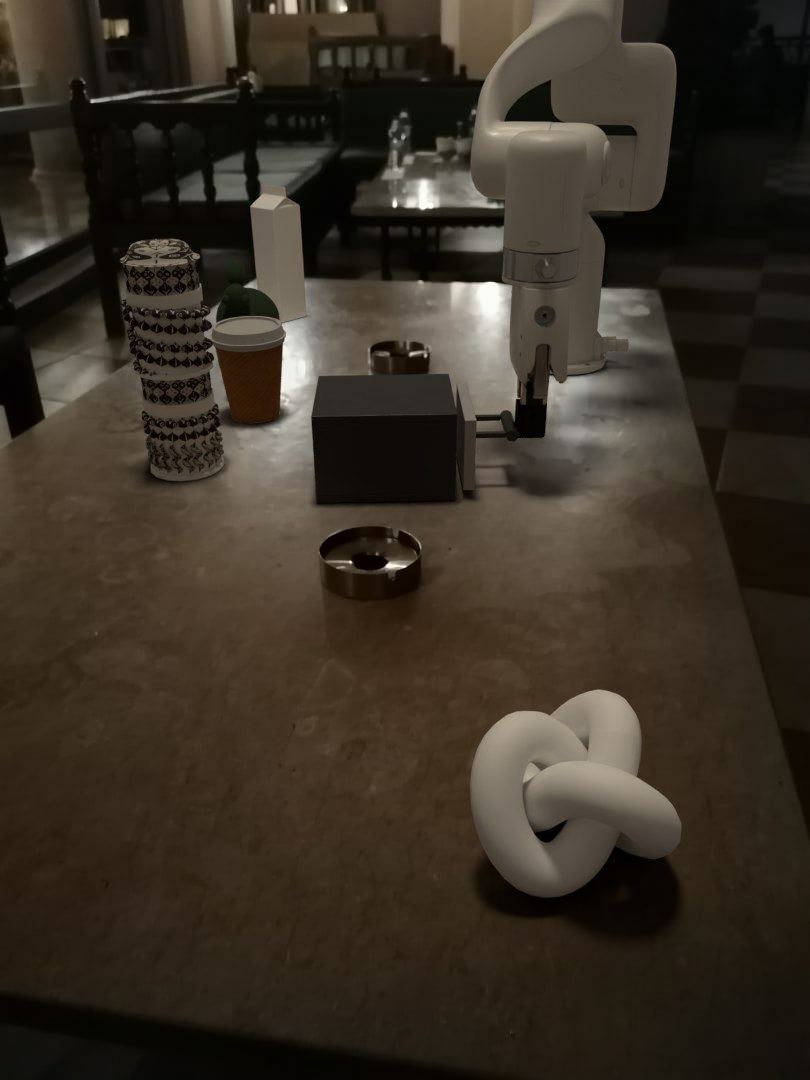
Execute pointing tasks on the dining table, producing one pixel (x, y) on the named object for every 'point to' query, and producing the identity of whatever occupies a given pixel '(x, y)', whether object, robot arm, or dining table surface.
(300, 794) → the dining table surface
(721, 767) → the dining table surface
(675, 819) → the white knot sculpture
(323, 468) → the dark gray cabinet
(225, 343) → the disposable coffee cup
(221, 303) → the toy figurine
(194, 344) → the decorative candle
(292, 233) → the milk
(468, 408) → the drawer
